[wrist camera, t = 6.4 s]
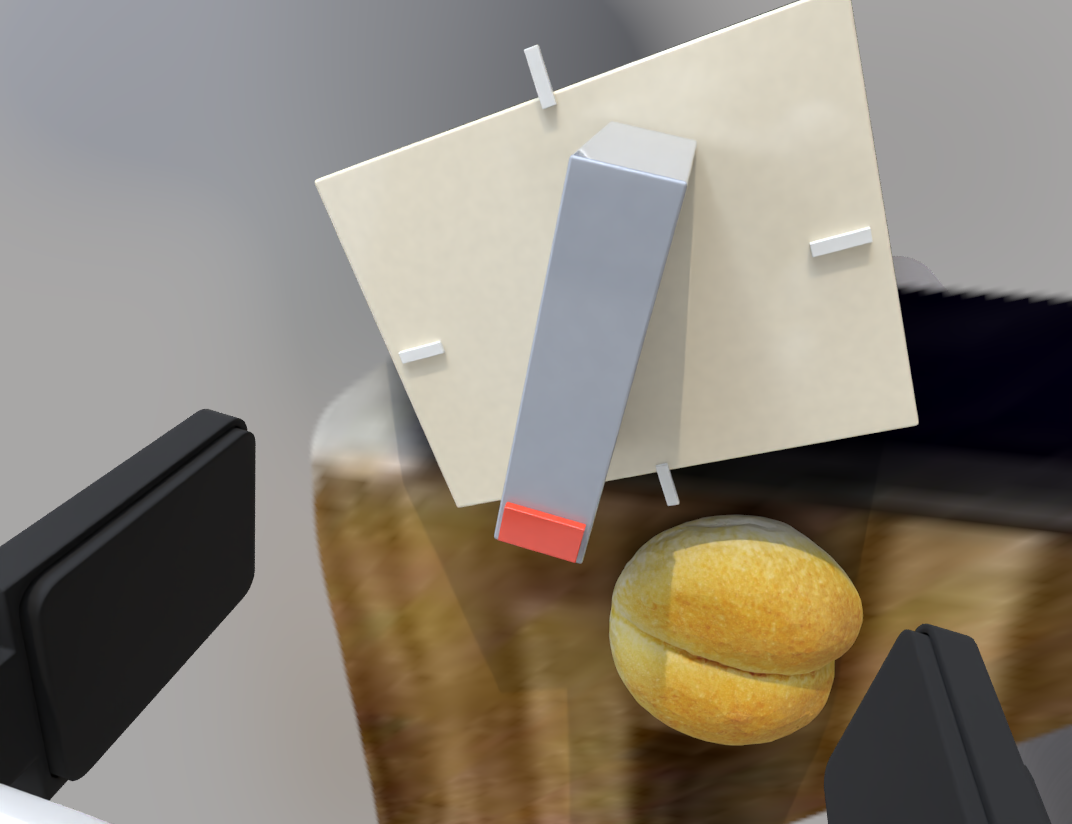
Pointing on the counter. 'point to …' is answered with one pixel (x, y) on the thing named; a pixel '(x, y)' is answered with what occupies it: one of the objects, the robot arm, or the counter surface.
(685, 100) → the cream flat tabbed slab
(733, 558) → the bread roll
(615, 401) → the grey rectangular block
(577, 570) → the counter surface
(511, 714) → the counter surface
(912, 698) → the robot arm
